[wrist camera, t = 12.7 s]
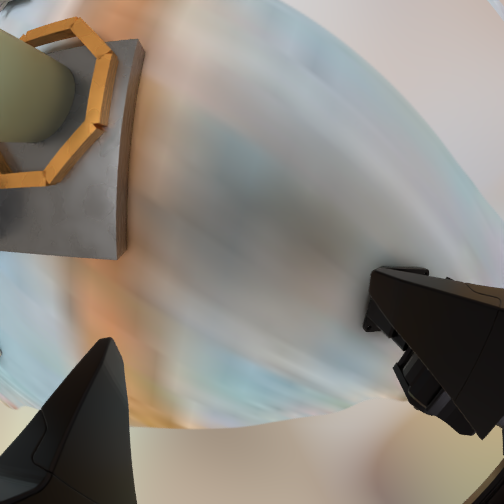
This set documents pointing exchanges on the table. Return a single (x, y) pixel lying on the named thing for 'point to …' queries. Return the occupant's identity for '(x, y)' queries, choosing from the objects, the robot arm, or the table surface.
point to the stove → (75, 155)
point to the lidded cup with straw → (31, 92)
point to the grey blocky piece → (3, 3)
